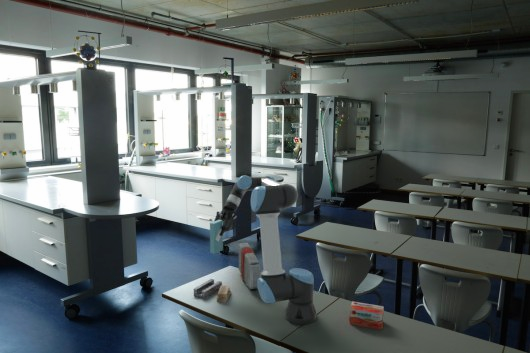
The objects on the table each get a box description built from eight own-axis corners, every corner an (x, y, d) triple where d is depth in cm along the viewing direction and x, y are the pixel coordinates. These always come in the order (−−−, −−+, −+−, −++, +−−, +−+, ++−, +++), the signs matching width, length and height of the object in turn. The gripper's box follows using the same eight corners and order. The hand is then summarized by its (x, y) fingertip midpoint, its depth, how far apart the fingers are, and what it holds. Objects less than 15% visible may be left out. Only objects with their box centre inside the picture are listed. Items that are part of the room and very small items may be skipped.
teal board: (222, 249, 226) (222, 220, 223) (213, 253, 219) (213, 223, 216) (219, 248, 227) (218, 219, 224) (210, 253, 220) (209, 223, 217)
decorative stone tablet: (237, 242, 241) (251, 264, 213) (248, 241, 243) (262, 263, 215) (237, 271, 246) (250, 297, 218) (247, 270, 247) (261, 295, 220)
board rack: (222, 288, 224) (221, 281, 223) (204, 299, 212) (204, 292, 211) (211, 285, 228) (211, 278, 227) (193, 295, 215) (193, 288, 215)
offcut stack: (231, 293, 219) (231, 285, 218) (226, 302, 208) (226, 295, 208) (221, 292, 220) (221, 285, 219) (216, 302, 209) (215, 294, 208)
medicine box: (383, 321, 191) (384, 305, 190) (382, 330, 184) (383, 314, 182) (350, 316, 196) (351, 300, 194) (349, 324, 188) (349, 308, 187)
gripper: (245, 209, 230) (228, 245, 219) (223, 206, 238) (206, 240, 227) (240, 202, 225) (222, 239, 213) (218, 199, 233) (200, 234, 221)
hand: (214, 239), depth 220 cm, fingers closed on teal board, 2 cm apart
